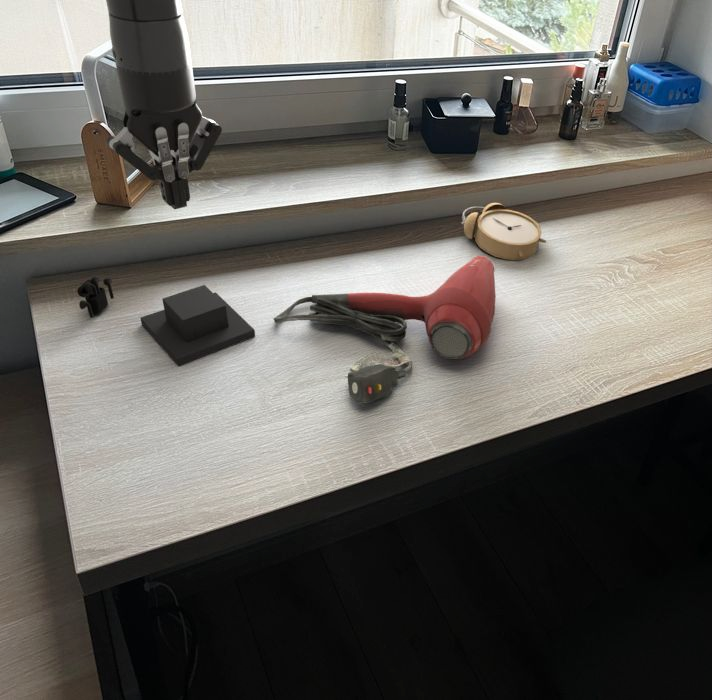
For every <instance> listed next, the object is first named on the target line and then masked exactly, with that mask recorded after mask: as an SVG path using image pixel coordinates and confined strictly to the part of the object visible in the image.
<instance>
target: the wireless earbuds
mask: <svg viewBox="0 0 712 700" xmlns="http://www.w3.org/2000/svg"><path fill="white" fill-rule="evenodd" d="M99 283H100V277H99V276H92V277H91V279H87V280H86V281H84V282H83V283H82V284H81V285H80V286H79V287H78V288H77V295H78V296H79V297H81V298H85V300H83V299H82V300H80V301H79V304H78V305H79V309H81V310H84V309H86V308H87V311H88V312H87V313H88V315H89V319H94V317H95V316H98V315H100V314H101V313H102V312H103V311H104V310H105V309H106V308H107V307H108V305H109V301H108V297H107V294H106V289H105V288H104V287H100V285H99ZM112 283H113V279H112V278H111V277H106V278H104V279H103V284H104V286H107V290H108V293H109V297H110V299H112V300H113V299H115V295H114V292H113V288H112V285H111V284H112Z"/></svg>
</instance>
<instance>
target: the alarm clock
mask: <svg viewBox="0 0 712 700" xmlns="http://www.w3.org/2000/svg"><path fill="white" fill-rule="evenodd" d="M479 213H481V214H480V215H479ZM461 219H462V221H461V226H462V227H463V233H464V235H465V237H466V238H468V240H473V238H474V240H475V243H476V245H478V247H479V248H480V249H481V250H483V251H484V252H486V253H487V254H488V255H491V256H493V257H495V258H500V259H503V260H509V261H510V260H511V261H520V260H521V261H522V260H526V259H529V258H531V257H533V256H534V255H535V254H536V253H537V252H538V248H539V243H545V244H546V243H547V240H546V239H545V238H542V233H543V231H542V227H541V226H540V225H539V223H538V222H537V221H536V220H535V219H533V218H532V217H530V216H529V215H526V214H525V213H522V212H520V211H516V210H513V209H512V210H511V209H506V207H505V206H504V205H503V204H501V203H500V202H491V203H489V204H487V205H486V206H485V207H484V206H471V207H470V206H469V207H468V208H466V209H464V210H463V212H462V216H461Z"/></svg>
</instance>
